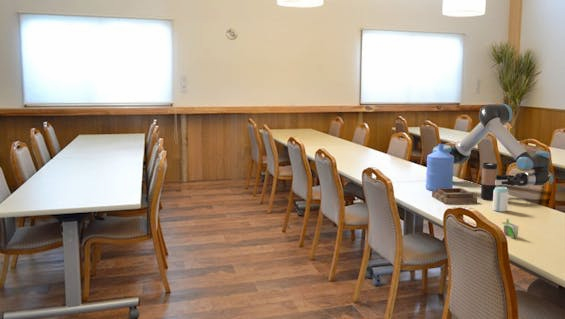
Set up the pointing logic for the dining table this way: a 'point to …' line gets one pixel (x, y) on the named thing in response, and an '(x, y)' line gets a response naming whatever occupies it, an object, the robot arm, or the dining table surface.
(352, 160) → the dining table surface
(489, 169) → the travel mug
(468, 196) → the brown wooden tray
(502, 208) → the can
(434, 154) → the water jug
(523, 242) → the dining table surface
